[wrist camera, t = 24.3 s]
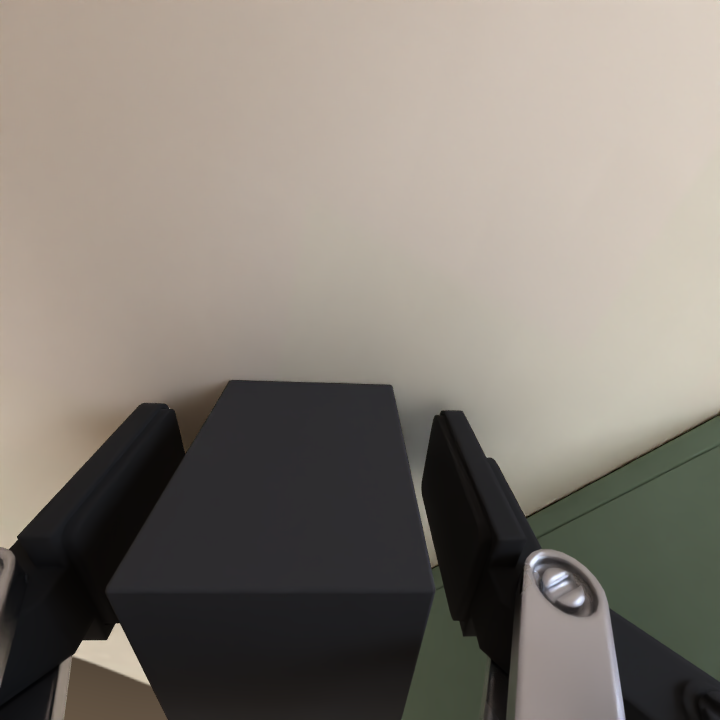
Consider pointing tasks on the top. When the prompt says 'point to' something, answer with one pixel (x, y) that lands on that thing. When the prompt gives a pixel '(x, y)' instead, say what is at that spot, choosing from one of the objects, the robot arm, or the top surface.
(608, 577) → the chest
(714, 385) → the top surface
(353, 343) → the top surface
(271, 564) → the black block
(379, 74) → the top surface
